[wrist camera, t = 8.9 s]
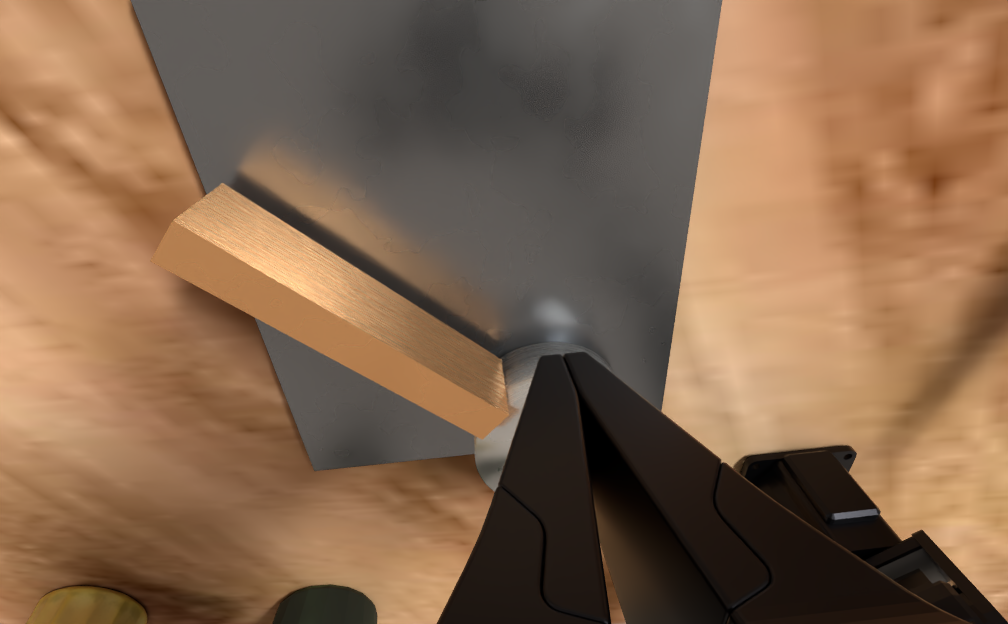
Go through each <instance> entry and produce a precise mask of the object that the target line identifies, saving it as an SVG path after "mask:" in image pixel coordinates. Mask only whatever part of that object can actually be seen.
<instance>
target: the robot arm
mask: <svg viewBox="0 0 1008 624" xmlns="http://www.w3.org/2000/svg"><path fill="white" fill-rule="evenodd" d="M856 455H857V453H856V452H855V451H854V449H853V448H852V447H851V446H838V447H828V448H819V449H810V450H801V451H792V452H783V453H773V454H764V455H755V456H751V457H749V458H747V459H746V460H745V462H744V464H743V468H742V471H741V475H740V474H739V473H738V472H737V471H735V470H734V469H733V468H732V467H730V466H729V465H728V464H727V463H724V462H723V463H721V459H720V458H719V457H717V456H716V455H715V454H714V453H712V452H711V451H710V450H709V449H707V448H706V447H705V446H704V445H702V444H701V443H700V442H699V441H697V440H696V439H695V438H694V437H692V436H691V435H690V434H688V433H687V432H686V431H685V430H683V429H682V428H681V427H680V426H678V425H677V424H676V423H675V422H673V421H672V420H671V419H670V418H668V417H667V416H666V415H665V414H663V413H662V412H661V411H660V410H658V409H657V408H656V407H654V406H653V405H652V404H651V403H649V402H648V401H647V400H646V399H644V398H643V397H642V396H641V395H639V394H638V393H637V392H636V391H634V390H633V389H632V388H631V387H629V386H628V385H627V384H626V383H624V382H623V381H622V380H621V379H619V378H618V377H617V376H615V375H614V374H613V373H612V372H610V371H609V370H608V369H607V368H605V367H604V366H603V365H602V364H600V363H599V362H598V361H597V360H595V359H594V358H593V357H592V356H590V355H589V354H588V353H586V352H573V353H565V354H564V355H563V356H562V355H560V354H553V355H543V356H541V357H540V358H539V360H538V363H537V366H536V369H535V372H534V375H533V378H532V381H531V384H530V387H529V390H528V394H527V397H526V400H525V403H524V406H523V409H522V412H521V415H520V418H519V421H518V424H517V427H516V430H515V433H514V436H513V439H512V442H511V445H510V448H509V452H508V455H507V458H506V461H505V464H504V467H503V470H502V473H501V476H500V479H499V482H498V487H497V488H496V490H495V493H494V496H493V499H492V503H491V506H490V508H489V511H488V514H487V516H486V519H485V522H484V524H483V527H482V530H481V532H480V535H479V537H478V539H477V542H476V544H475V546H474V548H473V550H472V553H471V555H470V557H469V559H468V561H467V564H466V566H465V568H464V570H463V572H462V574H461V576H460V578H459V580H458V582H457V584H456V586H455V588H454V590H453V592H452V594H451V596H450V598H449V600H448V602H447V604H446V606H445V608H444V610H443V612H442V614H441V616H440V618H439V620H438V622H437V624H611V618H610V611H609V604H608V597H607V590H606V583H605V576H604V569H603V562H602V555H601V548H600V544H601V547H602V550H603V553H604V557H605V560H606V563H607V566H608V569H609V572H610V575H611V578H612V581H613V584H614V587H615V590H616V593H617V596H618V599H619V603H620V606H621V609H622V612H623V615H624V618H625V621H626V624H1008V622H1007V621H1006V620H1005V619H1004V618H1003V617H1002V615H1001V614H1000V613H999V612H998V611H997V610H996V609H995V608H994V607H993V606H992V604H991V603H990V602H989V601H988V600H987V599H986V598H985V597H984V596H983V595H982V594H981V593H980V591H979V590H978V589H977V588H976V587H975V586H974V585H973V584H972V583H971V582H970V581H969V580H968V579H967V577H966V576H965V575H964V574H963V573H962V572H961V571H960V570H959V569H958V568H957V567H956V566H955V565H954V564H953V562H952V561H951V560H950V559H949V558H948V557H947V556H946V555H945V554H944V553H943V552H942V551H941V550H940V548H939V547H938V546H937V545H936V544H935V543H934V542H933V541H932V540H931V539H930V538H929V537H928V536H927V535H926V533H925V532H924V531H923V530H920V531H917V532H915V533H913V534H911V535H912V537H910V538H908V539H906V540H904V541H902V540H901V539H900V538H899V537H898V536H897V534H896V533H895V532H894V531H893V530H892V528H891V527H890V526H889V525H888V524H887V522H886V521H885V520H884V519H883V518H882V517H881V515H880V512H881V511H880V510H879V508H878V507H877V506H876V505H875V503H874V502H873V501H872V500H871V499H870V497H869V496H868V495H867V494H866V493H865V492H864V490H863V489H862V488H861V487H860V486H859V484H858V483H857V482H856V481H855V480H854V479H853V477H852V476H851V475H850V474H849V471H850V468H851V466H852V464H853V462H854V460H855V458H856ZM947 582H948V583H947Z"/></svg>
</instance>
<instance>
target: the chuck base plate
mask: <svg viewBox="0 0 1008 624" xmlns="http://www.w3.org/2000/svg"><path fill="white" fill-rule="evenodd" d="M131 2H132V5H133V7H134V10H135V12H136V15H137V18H138V20H139V23H140V25H141V28H142V30H143V33H144V35H145V38H146V41H147V43H148V46H149V48H150V51H151V53H152V56H153V59H154V61H155V64H156V66H157V69H158V71H159V74H160V76H161V79H162V82H163V84H164V87H165V89H166V92H167V94H168V97H169V100H170V102H171V105H172V107H173V110H174V112H175V115H176V117H177V120H178V123H179V125H180V128H181V130H182V133H183V135H184V138H185V141H186V143H187V146H188V148H189V151H190V153H191V156H192V158H193V161H194V164H195V166H196V169H197V171H198V174H199V176H200V179H201V182H202V184H203V187H204V189H205V192H206V194H209V193H210V192H211V191H213V190H214V189H215V188H217V187H218V186H219V185H221V184H222V183H224V184H225V185H227V186H228V187H230V188H232V189H233V190H235V191H236V192H238V193H240V194H241V195H243V196H244V197H246V198H247V199H249V200H251V201H252V202H254V203H255V204H257V205H258V206H260V207H262V208H263V209H265V210H266V211H268V212H270V213H271V214H273V215H274V216H276V217H277V218H279V219H281V220H282V221H284V222H285V223H287V224H288V225H290V226H292V227H293V228H295V229H296V230H298V231H300V232H301V233H303V234H304V235H306V236H307V237H309V238H311V239H312V240H314V241H315V242H317V243H318V244H320V245H322V246H323V247H325V248H326V249H328V250H329V251H331V252H333V253H334V254H336V255H337V256H339V257H341V258H342V259H344V260H345V261H347V262H348V263H350V264H352V265H353V266H355V267H356V268H358V269H359V270H361V271H363V272H364V273H366V274H367V275H369V276H371V277H372V278H374V279H375V280H377V281H378V282H380V283H382V284H383V285H385V286H386V287H388V288H389V289H391V290H393V291H394V292H396V293H397V294H399V295H401V296H402V297H404V298H405V299H407V300H408V301H410V302H412V303H413V304H415V305H416V306H418V307H419V308H421V309H423V310H424V311H426V312H427V313H429V314H430V315H432V316H434V317H435V318H437V319H438V320H440V321H442V322H443V323H445V324H446V325H448V326H449V327H451V328H453V329H454V330H456V331H457V332H459V333H460V334H462V335H464V336H465V337H467V338H468V339H470V340H472V341H473V342H475V343H476V344H478V345H479V346H481V347H483V348H484V349H486V350H487V351H489V352H490V353H492V354H494V355H495V356H497V357H498V358H501V357H503V356H504V355H506V354H508V353H510V352H512V351H514V350H516V349H519V348H521V347H524V346H528V345H531V344H536V343H542V342H565V343H571V344H575V345H579V346H582V347H585V348H587V349H589V350H591V351H593V352H594V353H596V354H598V355H599V356H600V357H601V358H603V359H604V360H605V361H606V362H607V364H608V365H609V366H610V368H611V369H612V371H613V373H614V375H615V376H617V377H618V378H619V379H621V380H622V381H623V382H624V383H626V384H627V385H628V386H629V387H631V388H632V389H633V390H634V391H636V392H637V393H638V394H639V395H641V396H642V397H643V398H644V399H646V400H647V401H648V402H649V403H651V404H652V405H653V406H654V407H656V408H657V409H658V410H660V411H661V410H662V403H663V396H664V390H665V383H666V376H667V369H668V363H669V356H670V349H671V342H672V335H673V329H674V322H675V315H676V308H677V302H678V295H679V288H680V281H681V275H682V268H683V261H684V254H685V248H686V241H687V234H688V227H689V221H690V214H691V207H692V200H693V194H694V187H695V180H696V173H697V167H698V160H699V153H700V146H701V140H702V133H703V126H704V119H705V113H706V106H707V99H708V92H709V86H710V79H711V72H712V65H713V59H714V52H715V45H716V38H717V32H718V25H719V18H720V11H721V5H722V0H131ZM255 320H256V322H257V325H258V328H259V330H260V333H261V335H262V338H263V340H264V343H265V346H266V348H267V351H268V353H269V356H270V358H271V361H272V363H273V366H274V369H275V371H276V374H277V376H278V379H279V381H280V384H281V387H282V389H283V392H284V394H285V397H286V399H287V402H288V404H289V407H290V410H291V412H292V415H293V417H294V420H295V422H296V425H297V428H298V430H299V433H300V435H301V438H302V440H303V443H304V445H305V448H306V451H307V453H308V456H309V458H310V461H311V463H312V466H313V469H314V471H319V470H329V469H338V468H347V467H357V466H366V465H376V464H385V463H394V462H404V461H413V460H422V459H432V458H441V457H451V456H460V455H469V454H475V445H474V435H473V434H471V433H469V432H467V431H465V430H463V429H461V428H459V427H458V426H456V425H454V424H452V423H450V422H448V421H446V420H445V419H443V418H441V417H439V416H437V415H435V414H433V413H432V412H430V411H428V410H426V409H424V408H422V407H420V406H419V405H417V404H415V403H413V402H411V401H409V400H407V399H406V398H404V397H402V396H400V395H398V394H396V393H394V392H393V391H391V390H389V389H387V388H385V387H383V386H381V385H380V384H378V383H376V382H374V381H372V380H370V379H368V378H366V377H365V376H363V375H361V374H359V373H357V372H355V371H353V370H352V369H350V368H348V367H346V366H344V365H342V364H340V363H339V362H337V361H335V360H333V359H331V358H329V357H327V356H326V355H324V354H322V353H320V352H318V351H316V350H314V349H313V348H311V347H309V346H307V345H305V344H303V343H301V342H300V341H298V340H296V339H294V338H292V337H290V336H288V335H287V334H285V333H283V332H281V331H279V330H277V329H275V328H274V327H272V326H270V325H268V324H266V323H264V322H262V321H260V320H259V319H257V318H255Z"/></svg>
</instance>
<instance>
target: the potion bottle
mask: <svg viewBox="0 0 1008 624" xmlns="http://www.w3.org/2000/svg"><path fill="white" fill-rule="evenodd" d="M272 624H377V612H376V608H375V605H374V604H373V603H372V601H371V600H370V599H369V598H367V597H366V596H365V595H364V594H363V593H361V592H359V591H356V590H354V589H351V588H349V587H343V586H336V585H320V586H311V587H308V588H305V589H302V590H298V591H296V592H295V593H293V594H292V595H291V596H289V597H288V598H287V599H285V600H284V601H283V602H281V603H280V605H279V608H278V610H277V613H276V616H275V618H274V621H273V623H272Z"/></svg>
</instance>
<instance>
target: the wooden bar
mask: <svg viewBox="0 0 1008 624" xmlns="http://www.w3.org/2000/svg"><path fill="white" fill-rule="evenodd" d="M151 262H153V263H154V264H156V265H158V266H160V267H162V268H164V269H166V270H167V271H169V272H171V273H173V274H175V275H177V276H179V277H181V278H182V279H184V280H186V281H188V282H190V283H192V284H194V285H195V286H197V287H199V288H201V289H203V290H205V291H207V292H208V293H210V294H212V295H214V296H216V297H218V298H220V299H221V300H223V301H225V302H227V303H229V304H231V305H233V306H234V307H236V308H238V309H240V310H242V311H244V312H246V313H247V314H249V315H251V316H253V317H255V318H257V319H259V320H260V321H262V322H264V323H266V324H268V325H270V326H272V327H274V328H275V329H277V330H279V331H281V332H283V333H285V334H287V335H288V336H290V337H292V338H294V339H296V340H298V341H300V342H301V343H303V344H305V345H307V346H309V347H311V348H313V349H314V350H316V351H318V352H320V353H322V354H324V355H326V356H327V357H329V358H331V359H333V360H335V361H337V362H339V363H340V364H342V365H344V366H346V367H348V368H350V369H352V370H353V371H355V372H357V373H359V374H361V375H363V376H365V377H366V378H368V379H370V380H372V381H374V382H376V383H378V384H380V385H381V386H383V387H385V388H387V389H389V390H391V391H393V392H394V393H396V394H398V395H400V396H402V397H404V398H406V399H407V400H409V401H411V402H413V403H415V404H417V405H419V406H420V407H422V408H424V409H426V410H428V411H430V412H432V413H433V414H435V415H437V416H439V417H441V418H443V419H445V420H446V421H448V422H450V423H452V424H454V425H456V426H458V427H459V428H461V429H463V430H465V431H467V432H469V433H471V434H473V435H474V445H475V463H476V467H477V470H478V472H479V474H480V476H481V478H482V479H483V481H484V482H485V483H486V484H487V485H488V486H489V487H490V488H491V489H492V490H493V491H495V490H496V488H497V487H498V482H499V479H500V476H501V473H502V470H503V467H504V464H505V461H506V458H507V455H508V452H509V448H510V445H511V442H512V439H513V436H514V433H515V430H516V427H517V424H518V421H519V418H520V415H521V412H522V409H523V406H524V403H525V400H526V397H527V394H528V390H529V387H530V384H531V381H532V378H533V375H534V372H535V369H536V366H537V363H538V360H539V358H540V357H541V356H543V355H553V354H560V355H562V356H563V355H564V354H565V353H573V352H586V353H588V354H589V355H590V356H592V357H593V358H594V359H595V360H597V361H598V362H599V363H600V364H602V365H603V366H604V367H605V368H607V369H608V370H609V371H610V372H612V373H613V371H612V369H611V368H610V366H609V365H608V364H607V362H606V361H605V360H604V359H603V358H601V357H600V356H599V355H598V354H596V353H594V352H593V351H591V350H589V349H587V348H585V347H582V346H579V345H575V344H571V343H565V342H542V343H536V344H531V345H528V346H524V347H521V348H519V349H516V350H514V351H512V352H510V353H508V354H506V355H504V356H503V357H501V358H498V357H497V356H495V355H494V354H492V353H490V352H489V351H487V350H486V349H484V348H483V347H481V346H479V345H478V344H476V343H475V342H473V341H472V340H470V339H468V338H467V337H465V336H464V335H462V334H460V333H459V332H457V331H456V330H454V329H453V328H451V327H449V326H448V325H446V324H445V323H443V322H442V321H440V320H438V319H437V318H435V317H434V316H432V315H430V314H429V313H427V312H426V311H424V310H423V309H421V308H419V307H418V306H416V305H415V304H413V303H412V302H410V301H408V300H407V299H405V298H404V297H402V296H401V295H399V294H397V293H396V292H394V291H393V290H391V289H389V288H388V287H386V286H385V285H383V284H382V283H380V282H378V281H377V280H375V279H374V278H372V277H371V276H369V275H367V274H366V273H364V272H363V271H361V270H359V269H358V268H356V267H355V266H353V265H352V264H350V263H348V262H347V261H345V260H344V259H342V258H341V257H339V256H337V255H336V254H334V253H333V252H331V251H329V250H328V249H326V248H325V247H323V246H322V245H320V244H318V243H317V242H315V241H314V240H312V239H311V238H309V237H307V236H306V235H304V234H303V233H301V232H300V231H298V230H296V229H295V228H293V227H292V226H290V225H288V224H287V223H285V222H284V221H282V220H281V219H279V218H277V217H276V216H274V215H273V214H271V213H270V212H268V211H266V210H265V209H263V208H262V207H260V206H258V205H257V204H255V203H254V202H252V201H251V200H249V199H247V198H246V197H244V196H243V195H241V194H240V193H238V192H236V191H235V190H233V189H232V188H230V187H228V186H227V185H225V184H224V183H222V184H221V185H219V186H218V187H217V188H215V189H214V190H213V191H211V192H210V193H209V194H207V195H206V196H205V197H203V198H202V199H201V200H199V201H198V202H197V203H195V204H194V205H193V206H191V207H190V208H189V209H187V210H186V211H185V212H183V213H182V214H181V215H180V216H178V217H177V218H176V219H174V220H173V221H172V223H171V225H170V226H169V228H168V230H167V232H166V234H165V235H164V237H163V239H162V241H161V243H160V245H159V246H158V248H157V250H156V252H155V254H154V255H153V257H152V259H151ZM613 374H614V373H613Z"/></svg>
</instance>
